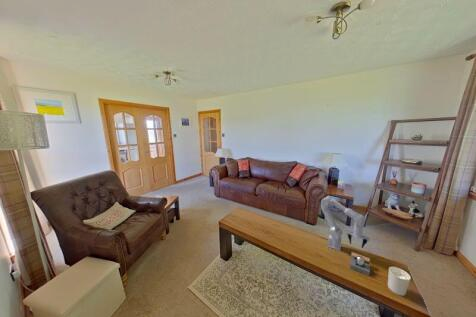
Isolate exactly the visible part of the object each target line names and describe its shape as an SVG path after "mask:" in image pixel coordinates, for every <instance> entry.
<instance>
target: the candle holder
mask: <svg viewBox="0 0 476 317" xmlns="http://www.w3.org/2000/svg"><path fill="white" fill-rule="evenodd" d="M387 278H388V279H387V288H388V289H389V290H390V291H391V292H392V293H394V294H396V295H398V296H401V297H402V296H403V297H404V296H406V295H407V292H408V289H409V285H410V283H411V282H410V281H411V280H412V279H411V278H412V277H411V275H410V273H408V272H406V271H405V270H403V269H402V268H399V267H397V266H390V267H388V276H387Z"/></svg>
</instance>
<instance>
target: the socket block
mask: <svg viewBox="0 0 476 317" xmlns="http://www.w3.org/2000/svg"><path fill="white" fill-rule="evenodd" d="M357 256H362V257H363V258H364V265H363V268H362V267H360V266H357V265H356V264H357ZM370 262H371V260H370V257H366V256H364V255H361V254H358V253H356V252H353V251H351V255H350V266H349V269H351V270H353V271H356V272H359V273H361V274H364V275H366V276H368V277H370V274H371V273H370V272H371V271H370V269H371V268H370Z"/></svg>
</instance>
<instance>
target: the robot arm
mask: <svg viewBox="0 0 476 317" xmlns="http://www.w3.org/2000/svg"><path fill="white" fill-rule="evenodd" d="M329 207H336V208H337V209H339V210H340V211H343V212H344V214H345V215H346V216H348V218H350V219H353V221H354V225H353V231H348V230H346V234H345V235H347V238H348V240H349V245H352V237H355V238H356V239H362V243H361V249H363V248H364V247H365V245H366V244H367V243H368V242H370V237H368V236H366V235H364V234H363V231H364V222H365V220H366V218H365V216H364V215H363V214H362V213H358V212H356V211H354V210H353V208H349V207H346V206H344V205H343V204H341V203H340V202H338V201H337V200H336V199H335V198H334V197H332V196H330V195H327V196H325V197H324V198H322V199H321V201H320V208H321V211H322V213H323V215H324V217H325V219H326V221H327V223H328V226H329V232H330V234H329V235H328V239H327V240H328V241H327V247H329V248H331V249H334V250H336V251H337V250H338V251H339V252H341V249H342V245H341V244H342V236H343V233H344V231H343V230H342V229H341V227H339V225H337V223H336V222H335V220H334V216H333V214H332V212H331V211H330V208H329Z"/></svg>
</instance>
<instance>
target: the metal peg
mask: <svg viewBox="0 0 476 317" xmlns="http://www.w3.org/2000/svg"><path fill="white" fill-rule="evenodd" d="M362 256H363V255H362ZM362 256H357V264H356V265H357V266H360V267H362V268H363V265H364V258H363V257H362Z"/></svg>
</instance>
